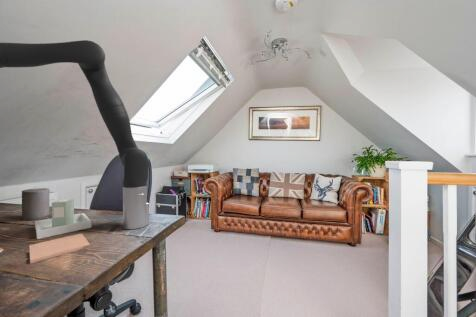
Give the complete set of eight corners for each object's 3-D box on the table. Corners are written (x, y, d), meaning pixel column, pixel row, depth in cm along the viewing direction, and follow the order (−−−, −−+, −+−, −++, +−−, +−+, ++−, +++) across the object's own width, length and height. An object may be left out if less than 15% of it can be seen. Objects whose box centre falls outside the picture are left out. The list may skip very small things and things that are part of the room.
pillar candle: (15, 221, 93) (15, 189, 93) (32, 215, 103) (32, 185, 102) (40, 220, 95) (40, 188, 95) (54, 214, 105) (54, 185, 104)
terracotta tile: (81, 235, 77) (81, 233, 77) (90, 246, 68) (90, 244, 68) (29, 247, 67) (29, 245, 67) (30, 263, 58) (30, 260, 58)
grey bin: (83, 220, 95) (83, 212, 95) (91, 229, 84) (91, 220, 84) (35, 229, 83) (35, 221, 83) (37, 241, 72) (36, 231, 72)
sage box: (61, 225, 85) (60, 199, 85) (74, 225, 86) (73, 199, 86) (51, 230, 80) (51, 202, 80) (65, 229, 81) (65, 202, 81)
